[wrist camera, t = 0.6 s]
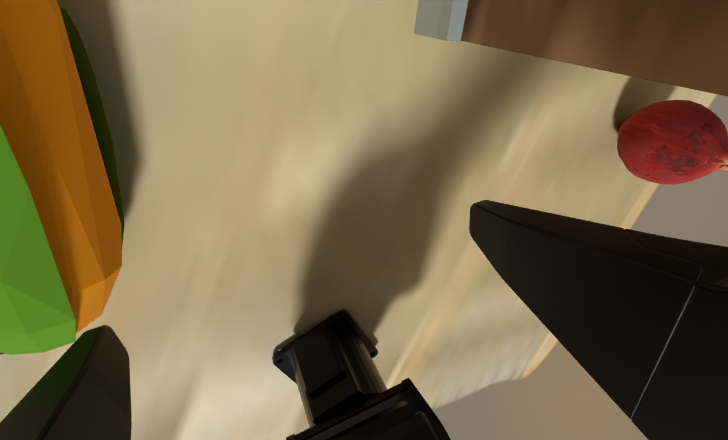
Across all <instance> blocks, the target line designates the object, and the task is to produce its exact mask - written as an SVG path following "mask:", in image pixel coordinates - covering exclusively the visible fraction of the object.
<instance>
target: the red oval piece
mask: <svg viewBox="0 0 728 440" xmlns="http://www.w3.org/2000/svg"><path fill="white" fill-rule="evenodd" d="M727 135H728V134H727V130H726V128H725V125H724V124H723V122H722V121H721V119H720V118H719V117H718V116H717V115H716V114H714V113H713V112H712V111H711V110H709V109H708V108H706V107H704V106H703V105H701V104H698V103H695V102H692V101H689V100H669V101H663V102H657V103H653V104H651V105H649V106H647V107H645V108H643V109H641V110H639V111H637V112H635V113H634V114H633V115H631V116H630V117H629V118H628V119H627V120H626V121H624V122H623V123H622V124H621V125H620V127H619V130H618V139H617V148H618V154H619V157H620V158H621V160H622V161H623V163H624V165H625V166H626V168H627V169H628V170H629V171H630V172H631V173H633V174H634V175H635V176H637V177H639V178H642V179H644V180H647V181H650V182H654V183H659V184H680V183H685V182H689V181H693V180H695V179H698V178H701V177H703V176H706V175H708V174H709V173H711V172H713V171H715V170H720V169H724V170H726V171H728V136H727Z"/></svg>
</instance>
